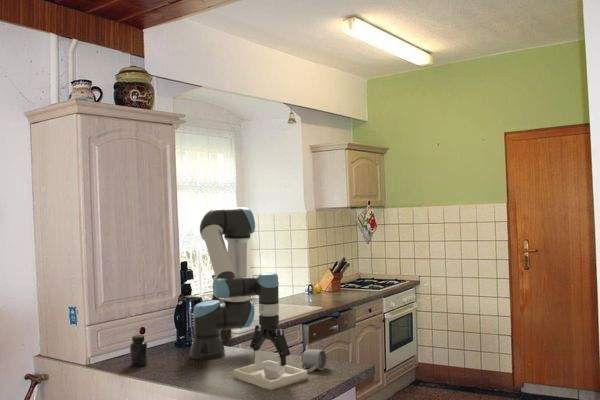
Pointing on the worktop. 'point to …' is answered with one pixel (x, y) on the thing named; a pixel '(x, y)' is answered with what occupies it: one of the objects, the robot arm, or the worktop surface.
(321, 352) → the ceramic mug
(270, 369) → the grey rough-textured block
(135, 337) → the supplement bottle
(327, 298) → the worktop surface
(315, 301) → the worktop surface
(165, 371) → the worktop surface
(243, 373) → the tray
